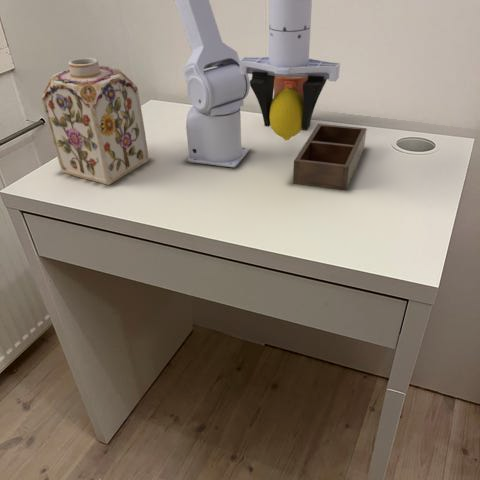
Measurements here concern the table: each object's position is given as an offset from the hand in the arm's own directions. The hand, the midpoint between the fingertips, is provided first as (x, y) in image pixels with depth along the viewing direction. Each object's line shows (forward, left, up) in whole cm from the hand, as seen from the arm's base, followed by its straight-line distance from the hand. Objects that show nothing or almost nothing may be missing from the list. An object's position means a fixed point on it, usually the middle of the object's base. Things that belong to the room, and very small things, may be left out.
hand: (286, 126), depth 78 cm
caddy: (+6, +10, -10) cm, 15 cm away
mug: (-6, +26, -10) cm, 28 cm away
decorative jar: (-33, -2, -10) cm, 35 cm away
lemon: (0, 0, -2) cm, 2 cm away
